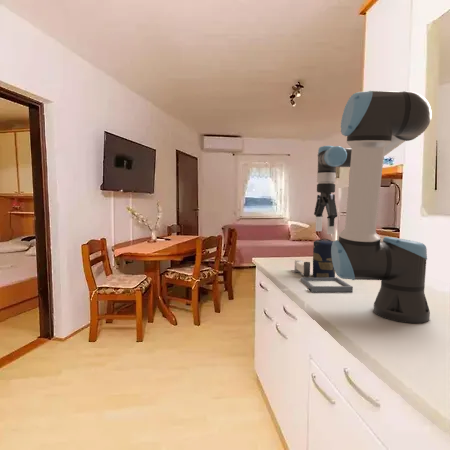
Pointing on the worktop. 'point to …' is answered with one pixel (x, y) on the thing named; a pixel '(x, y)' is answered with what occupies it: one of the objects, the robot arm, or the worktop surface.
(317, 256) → the canister
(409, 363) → the worktop surface
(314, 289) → the tray
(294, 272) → the crank base
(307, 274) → the crank
